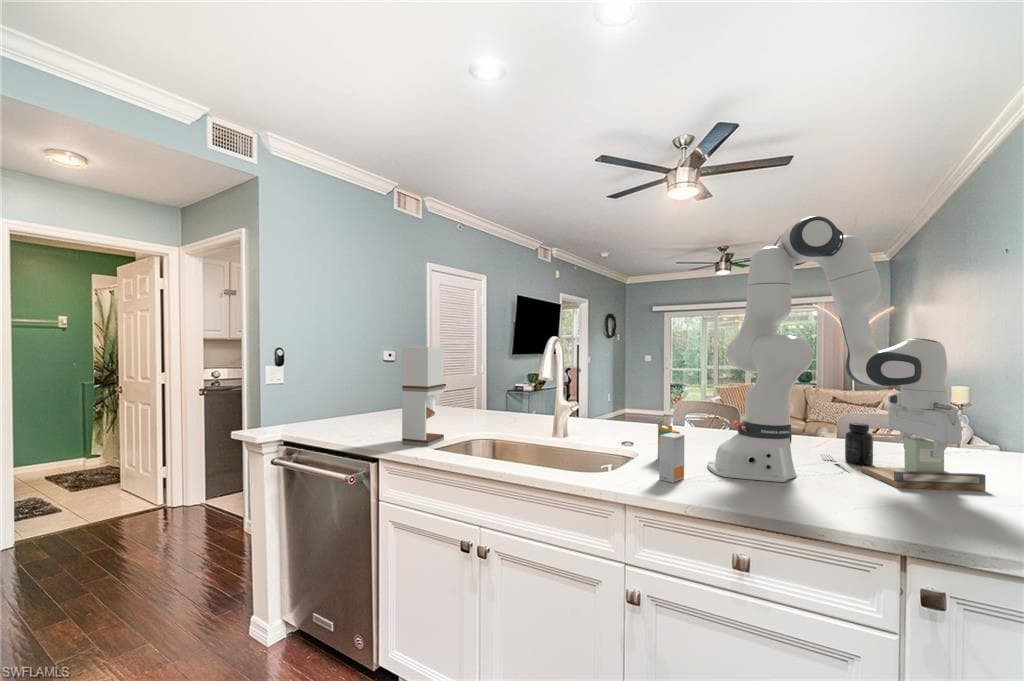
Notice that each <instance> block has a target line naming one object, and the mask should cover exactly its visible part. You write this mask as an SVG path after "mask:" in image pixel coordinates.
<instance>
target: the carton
mask: <svg viewBox="0 0 1024 681" xmlns="http://www.w3.org/2000/svg"><path fill="white" fill-rule="evenodd" d="M933 443H934V440H930V439H926V438H923V437H919V438H918V437H917V438H914V437H911V438H905V449H904V468H905V471H913V472H943V473H944V471H945V451H944V452H943V459H934V458H932V457H931V456H930V455H931V453H930V451H933V450H934V447H935V445H934V444H933Z"/></svg>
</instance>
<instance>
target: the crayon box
mask: <svg viewBox="0 0 1024 681" xmlns="http://www.w3.org/2000/svg"><path fill="white" fill-rule="evenodd" d="M667 433H676V434H681V433H680V431H678V430H675V429H673V426H672V425H670V424H667V423H662V422H659V421H658V422H657V459H658V460H659V445H660V435H664V434H667Z"/></svg>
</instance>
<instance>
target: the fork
mask: <svg viewBox="0 0 1024 681" xmlns="http://www.w3.org/2000/svg"><path fill="white" fill-rule="evenodd" d="M820 456H821V457H822V459H823V460H824V461H825V460H826V461H828V460H829V461H831V460H832V461H833V462H834V461H836V460H835V459H834V458H833V457H832V456H831V455H830V454H827V453H826V454H824V453H823V454H822V453H820ZM836 464H837V466H840V467H842V468H843V469H844V470H845V471H846V472H847V471H848V474H850V473H854V474H855V473H856V472H854V471H853V470H851V469H849V468H848V467H846V466H845V465H843V464H841V463H836Z"/></svg>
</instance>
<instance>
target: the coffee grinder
mask: <svg viewBox="0 0 1024 681" xmlns="http://www.w3.org/2000/svg"><path fill="white" fill-rule="evenodd" d="M401 348H402V349H401V352H402V353H401V355H402V358H401V359H402V360H401V363H402V364H401V366H402V368H401V377H402V379H401V382H402V383H401V384H402V386H401V389H402V390H401V392H402V393H401V396H402V397H401V401H402V404H401V405H402V406H401V412H402V414H401V415H402V417H401V424H402V425H401V429H402V430H401V434H402V435H401V439H402V440H401V442H402V443H401V444H402V445H407V446H419V447H420V446H421V447H430V446H432V445H435V444H438V443H440V442H442V441H444V440H445V435H444V434H441V433H439V434H438V433H432V432H427V420H428V419H431V418H432V417H434V416H435V414H436V395H441V394H444V393H445V356H444V355H445V347H444V346H433V347H432V346H430V347H429V346H428V347H426V346H424V347H423V346H402V347H401Z"/></svg>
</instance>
